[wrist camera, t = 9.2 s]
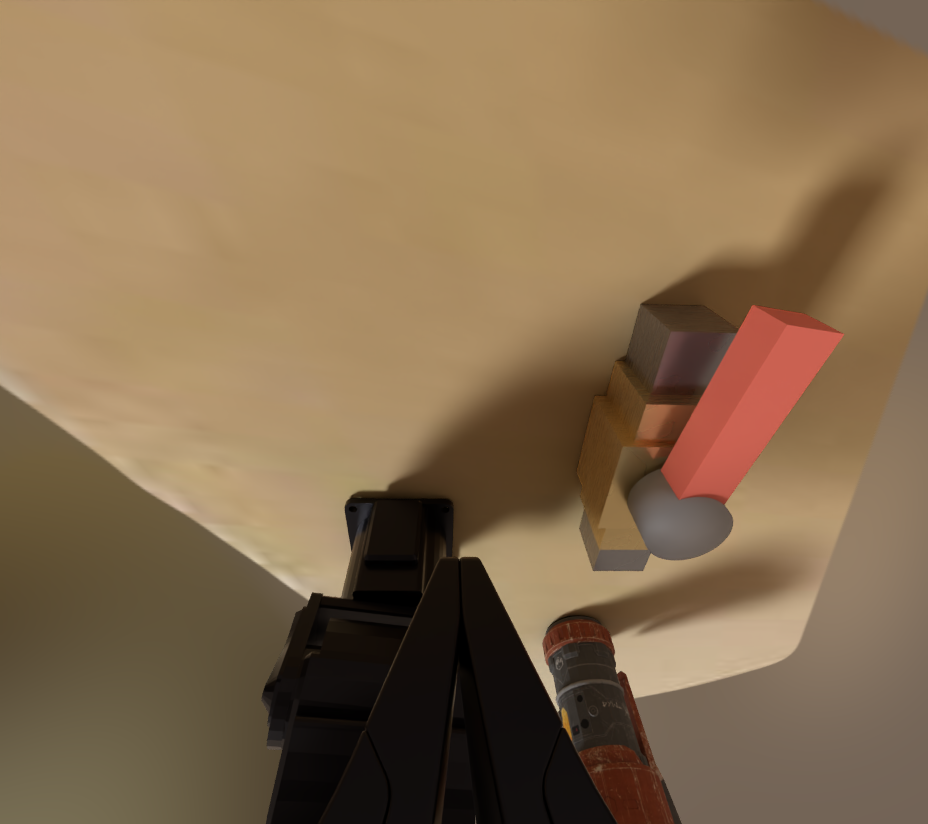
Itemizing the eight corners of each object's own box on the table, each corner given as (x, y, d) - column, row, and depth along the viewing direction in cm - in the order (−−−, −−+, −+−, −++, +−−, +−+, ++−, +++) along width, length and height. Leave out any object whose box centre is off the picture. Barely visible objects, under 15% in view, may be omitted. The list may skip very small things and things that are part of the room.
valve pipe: (640, 528, 28) (669, 587, 24) (562, 528, 28) (579, 587, 24) (727, 306, 20) (790, 345, 16) (617, 303, 19) (654, 342, 16)
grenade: (594, 660, 37) (668, 929, 25) (521, 638, 35) (561, 922, 22) (640, 627, 34) (749, 910, 22) (564, 601, 32) (637, 901, 20)
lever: (684, 525, 21) (707, 563, 19) (616, 518, 20) (632, 556, 19) (822, 316, 15) (874, 341, 13) (729, 300, 15) (769, 324, 13)
